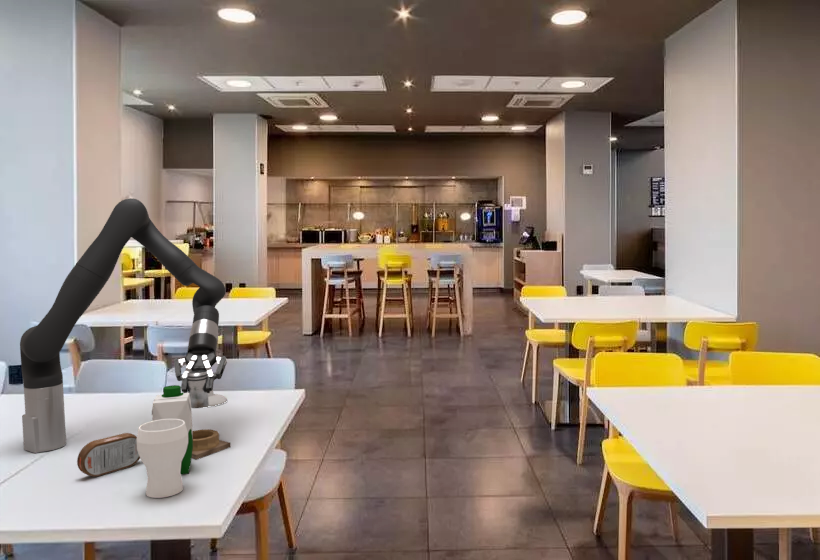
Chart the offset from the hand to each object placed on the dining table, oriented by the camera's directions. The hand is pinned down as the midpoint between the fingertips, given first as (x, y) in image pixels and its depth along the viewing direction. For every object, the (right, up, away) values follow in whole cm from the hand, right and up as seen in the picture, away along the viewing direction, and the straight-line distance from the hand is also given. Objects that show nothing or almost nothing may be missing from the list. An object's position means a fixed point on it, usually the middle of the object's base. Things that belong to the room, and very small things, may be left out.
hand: (196, 391), depth 160 cm
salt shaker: (0, -4, +2) cm, 5 cm away
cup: (+2, -18, -24) cm, 30 cm away
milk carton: (-1, -17, -12) cm, 21 cm away
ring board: (0, -16, +3) cm, 16 cm away
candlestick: (-14, -13, +51) cm, 55 cm away
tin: (-16, -17, -12) cm, 27 cm away
